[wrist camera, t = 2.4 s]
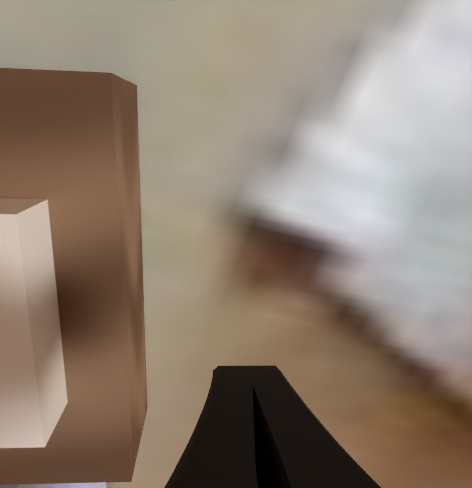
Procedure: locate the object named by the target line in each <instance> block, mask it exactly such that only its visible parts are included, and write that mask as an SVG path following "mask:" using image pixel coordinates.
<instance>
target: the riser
mask: <svg viewBox="0 0 472 488" xmlns="http://www.w3.org/2000/svg"><path fill="white" fill-rule="evenodd" d="M0 198H11V199H48V209H49V219H50V229H51V239H52V249H53V259H54V269H55V280H56V290H57V300H58V310H59V320H60V330H61V340H62V350H63V360H64V370H65V380H66V390H67V400H68V403H67V405H66V407H65V409H64V411H63V413H62V415H61V417H60V419H59V421H58V422H57V424H56V426H55V428H54V430H53V432H52V434H51V436H50V438H49V440H48V442H47V444H46V446H45V447H36V448H0V485H18V484H58V483H99V482H131V481H132V476H133V471H134V467H135V462H136V458H137V453H138V448H139V444H140V439H141V434H142V430H143V425H144V421H145V416H146V411H147V388H146V358H145V327H144V297H143V266H142V236H141V205H140V175H139V145H138V114H137V85H135V84H133V83H131V82H129V81H127V80H124V79H122V78H120V77H118V76H116V75H114V74H112V73H101V72H79V71H56V70H34V69H12V68H0Z"/></svg>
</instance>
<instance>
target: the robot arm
mask: <svg viewBox="0 0 472 488" xmlns="http://www.w3.org/2000/svg"><path fill="white" fill-rule="evenodd" d="M0 488H107V482H99V483H58V484H18V485H0ZM165 488H381V487H380V486H379V485H378V484H377V483H376V482H375V481H374V480H373V479H372V478H371V477H370V476H369V475H368V474H367V473H366V472H365V471H364V470H363V469H362V468H361V467H360V466H359V465H358V464H357V463H356V462H355V461H354V460H353V459H352V457H351V456H350V455H349V454H348V453H347V452H346V451H345V450H344V449H343V448H342V447H341V446H340V444H339V443H338V442H337V441H336V440H335V439H334V438H333V437H332V435H331V434H330V433H329V432H328V431H327V430H326V428H325V427H324V426H323V425H322V424H321V423H320V421H319V420H318V419H317V418H316V417H315V415H314V414H313V413H312V412H311V411H310V409H309V408H308V407H307V406H306V404H305V403H304V402H303V400H302V399H301V398H300V397H299V395H298V394H297V393H296V391H295V390H294V389H293V387H292V386H291V385H290V383H289V382H288V381H287V379H286V378H285V377H284V375H283V374H282V372H281V371H280V370H279V369H278V368H277V367H276V366H218V367H217V368H216V369H214V370H213V378H212V383H211V387H210V390H209V394H208V397H207V400H206V402H205V405H204V408H203V410H202V413H201V415H200V418H199V420H198V422H197V425H196V427H195V429H194V432H193V434H192V436H191V438H190V440H189V443H188V444H187V446H186V448H185V450H184V452H183V454H182V456H181V458H180V460H179V462H178V464H177V466H176V468H175V470H174V472H173V474H172V475H171V477H170V479H169V481H168V483H167V484H166V486H165Z"/></svg>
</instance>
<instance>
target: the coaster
mask: <svg viewBox="0 0 472 488" xmlns="http://www.w3.org/2000/svg"><path fill="white" fill-rule="evenodd" d="M67 403H68V400H67V390H66V380H65V370H64V360H63V350H62V340H61V330H60V320H59V310H58V300H57V290H56V280H55V269H54V259H53V249H52V239H51V229H50V219H49V209H48V199H11V198H0V448H36V447H45V446H46V444H47V442H48V440H49V438H50V436H51V434H52V432H53V430H54V428H55V426H56V424H57V422H58V421H59V419H60V417H61V415H62V413H63V411H64V409H65V407H66V405H67Z"/></svg>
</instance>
